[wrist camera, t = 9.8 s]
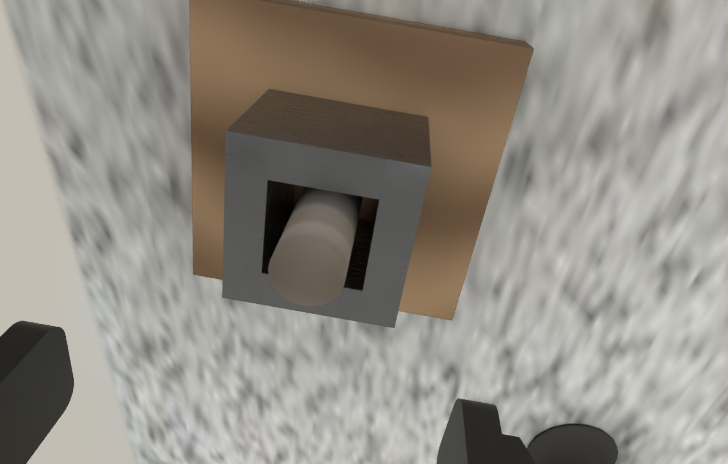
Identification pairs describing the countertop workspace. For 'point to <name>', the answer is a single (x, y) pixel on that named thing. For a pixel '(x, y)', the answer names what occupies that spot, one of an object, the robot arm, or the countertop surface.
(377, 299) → the block
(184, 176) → the countertop surface
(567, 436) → the sundae
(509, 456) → the robot arm
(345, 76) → the shaft block
